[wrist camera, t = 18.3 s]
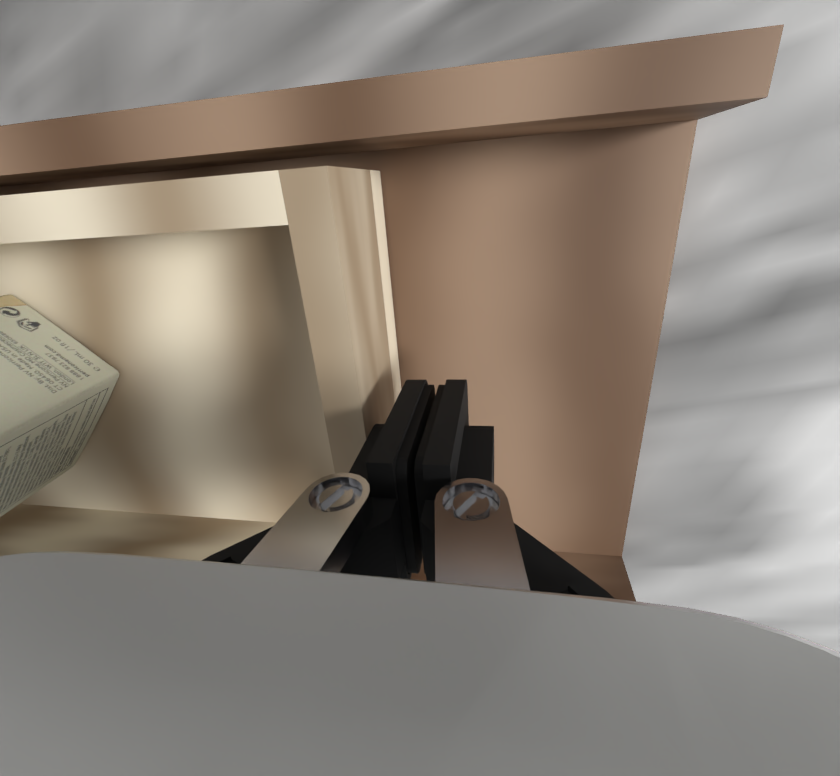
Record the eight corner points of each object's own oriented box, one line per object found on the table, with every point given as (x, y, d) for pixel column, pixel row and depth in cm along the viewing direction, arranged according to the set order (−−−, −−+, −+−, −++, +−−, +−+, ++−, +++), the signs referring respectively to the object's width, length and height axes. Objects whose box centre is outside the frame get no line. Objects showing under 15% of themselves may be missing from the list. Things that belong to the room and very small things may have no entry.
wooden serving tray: (689, 77, 11) (825, 1, 6) (612, 555, 17) (650, 684, 13) (-166, 174, 16) (-425, 170, 11) (29, 510, 23) (-86, 590, 18)
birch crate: (380, 171, 12) (326, 165, 8) (415, 533, 17) (392, 624, 14) (-158, 217, 15) (-356, 228, 12) (13, 503, 21) (-88, 569, 17)
